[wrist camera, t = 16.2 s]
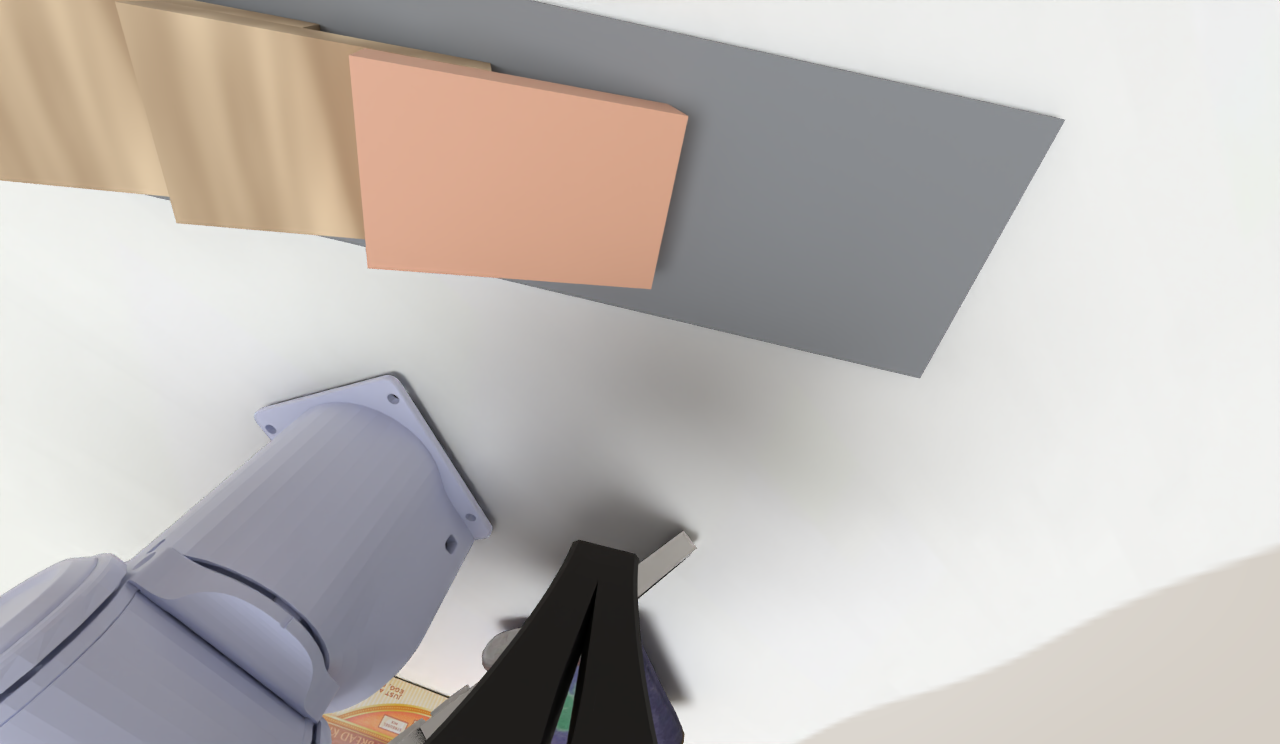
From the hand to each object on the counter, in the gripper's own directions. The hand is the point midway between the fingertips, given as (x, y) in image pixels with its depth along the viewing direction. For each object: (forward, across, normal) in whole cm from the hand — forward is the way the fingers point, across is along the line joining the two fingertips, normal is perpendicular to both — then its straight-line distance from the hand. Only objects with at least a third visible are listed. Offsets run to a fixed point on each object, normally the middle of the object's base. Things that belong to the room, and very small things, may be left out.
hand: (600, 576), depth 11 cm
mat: (+10, +8, -6) cm, 14 cm away
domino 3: (+9, +1, -6) cm, 11 cm away
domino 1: (+9, +12, -6) cm, 16 cm away
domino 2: (+9, +6, -6) cm, 13 cm away
